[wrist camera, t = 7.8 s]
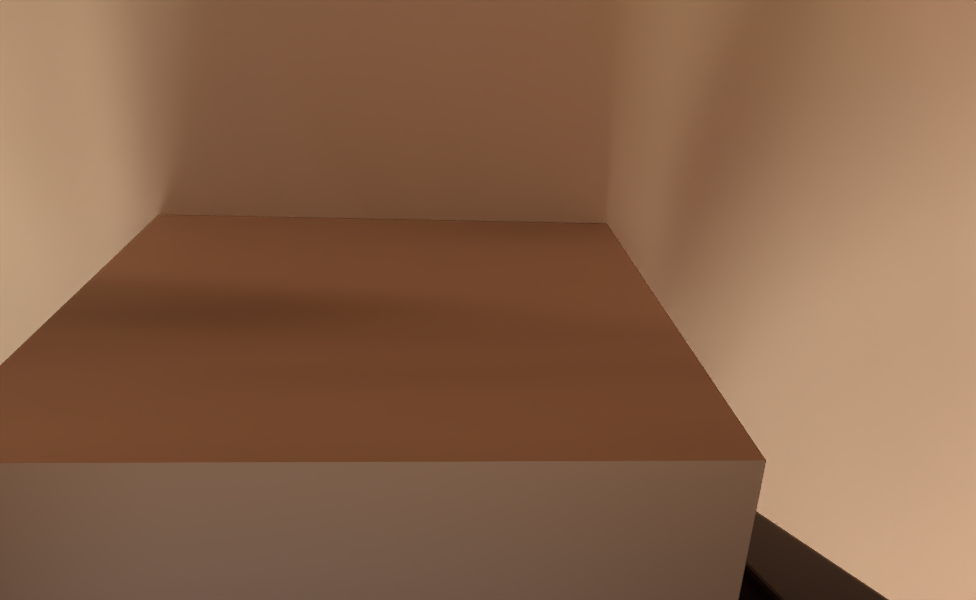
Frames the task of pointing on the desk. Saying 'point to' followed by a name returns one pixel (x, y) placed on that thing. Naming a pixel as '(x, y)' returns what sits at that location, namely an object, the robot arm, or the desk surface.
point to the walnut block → (369, 422)
